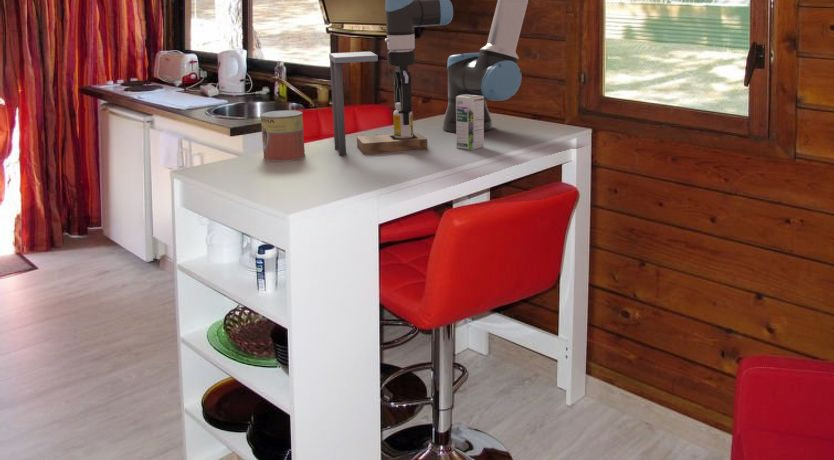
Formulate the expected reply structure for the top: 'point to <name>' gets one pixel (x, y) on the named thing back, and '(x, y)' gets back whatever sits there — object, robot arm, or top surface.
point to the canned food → (282, 135)
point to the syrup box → (469, 122)
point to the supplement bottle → (397, 122)
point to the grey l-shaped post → (337, 92)
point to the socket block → (390, 143)
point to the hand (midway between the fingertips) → (403, 134)
